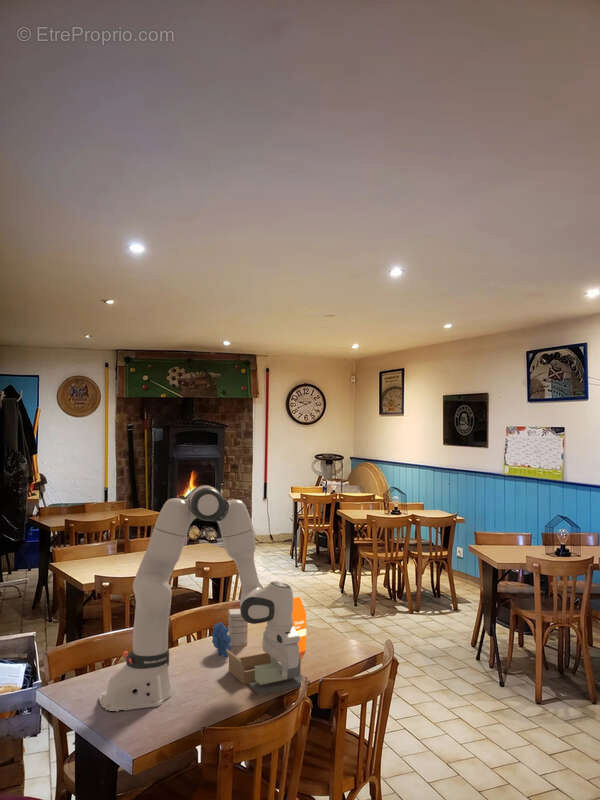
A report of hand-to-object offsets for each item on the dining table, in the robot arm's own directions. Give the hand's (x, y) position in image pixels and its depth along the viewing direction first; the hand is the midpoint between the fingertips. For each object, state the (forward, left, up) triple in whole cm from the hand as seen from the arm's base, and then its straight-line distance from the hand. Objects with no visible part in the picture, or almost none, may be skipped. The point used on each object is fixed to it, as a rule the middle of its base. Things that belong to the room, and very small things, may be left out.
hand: (279, 672), depth 204 cm
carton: (-1, +13, -4) cm, 14 cm away
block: (-1, 0, -2) cm, 2 cm away
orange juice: (+19, +27, -4) cm, 33 cm away
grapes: (-8, +35, -4) cm, 36 cm away
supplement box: (+4, +45, -4) cm, 45 cm away
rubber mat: (0, 0, -4) cm, 4 cm away
